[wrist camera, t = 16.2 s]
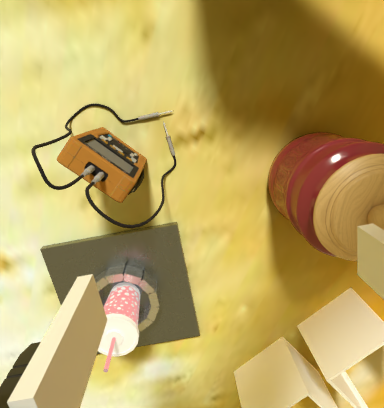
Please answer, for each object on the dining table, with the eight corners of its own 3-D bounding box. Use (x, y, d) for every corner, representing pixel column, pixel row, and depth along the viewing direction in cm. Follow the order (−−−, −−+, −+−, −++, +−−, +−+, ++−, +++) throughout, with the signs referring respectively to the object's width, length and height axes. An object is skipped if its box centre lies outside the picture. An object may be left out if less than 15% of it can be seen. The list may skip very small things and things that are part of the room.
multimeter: (201, 132, 41) (223, 158, 22) (158, 190, 43) (144, 258, 24) (108, 58, 38) (39, 15, 19) (66, 125, 40) (-34, 145, 21)
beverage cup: (128, 318, 49) (110, 399, 35) (97, 296, 47) (66, 372, 34) (153, 293, 47) (145, 368, 34) (122, 270, 46) (101, 338, 33)
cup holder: (43, 246, 45) (32, 257, 42) (177, 221, 45) (177, 231, 42) (82, 352, 51) (75, 369, 48) (199, 331, 51) (201, 347, 48)
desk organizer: (350, 286, 50) (395, 334, 40) (383, 325, 53) (434, 380, 43) (233, 370, 55) (246, 433, 44) (270, 402, 58) (291, 469, 47)
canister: (315, 234, 47) (393, 308, 30) (247, 191, 44) (291, 245, 27) (373, 163, 44) (496, 201, 27) (304, 112, 41) (393, 118, 24)
